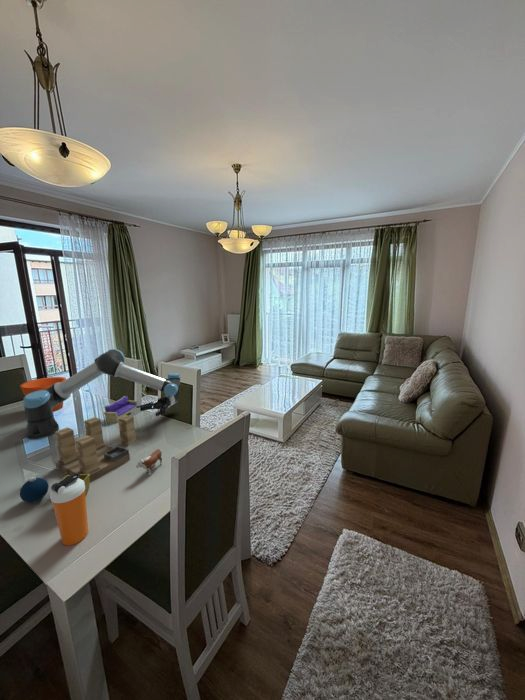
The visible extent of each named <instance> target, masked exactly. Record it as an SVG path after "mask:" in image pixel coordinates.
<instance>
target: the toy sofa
mask: <svg viewBox="0 0 525 700" xmlns="http://www.w3.org/2000/svg"><path fill="white" fill-rule="evenodd" d="M128 397H129V396H127V395H123V396H122V397H121V398H120V399H118V400H116V401H114V402H112V403H110V404H109V405H108V404H107V405H104V412H103V415H104V419H105V422H106V423H114V424H115V423H116V424H117V423H118V424H119V422H118V419H119V418H121V417H123V416H125V415H129V414H131V411H133V410H135V409H137V406H138V400H130V399H129V398H128Z"/></svg>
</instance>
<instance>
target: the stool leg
mask: <svg viewBox="0 0 525 700" xmlns="http://www.w3.org/2000/svg"><path fill="white" fill-rule="evenodd" d="M134 419H135V418H134V416H131V415H129V414H127V415H125V416H123V417H121V418H119V419H118V429H119V436H120V445H123V446H128V447H129V446H131V445H132V444H133V443H135V442H137V437H136V427H135V422H134Z"/></svg>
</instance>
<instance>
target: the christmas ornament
mask: <svg viewBox="0 0 525 700" xmlns="http://www.w3.org/2000/svg"><path fill="white" fill-rule="evenodd" d="M48 491H49V482H48V480H46V479H45V478H42V477H36V475H32V476H30V477H29V478H28V480H27V481H26V482H24V484H23V485H22V486H21V488H20V491H19V497H20V499H21V500H22V501H23V502H25V503H35V502H38V501H40V500H41V499H43V498H44V497H45V496H46V495H47V493H48Z"/></svg>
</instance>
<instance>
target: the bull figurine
mask: <svg viewBox="0 0 525 700" xmlns="http://www.w3.org/2000/svg"><path fill="white" fill-rule="evenodd" d="M158 461H159V466H162V465H163V457H162V451H161V450H160V449H156V450H155V451H153V452H152V453H151V454H149V455H148V456H146V457H144V458H143V459H141V458H140V459H139V460H138V461H137V464H136V465H135V468H137V469H138V468H142V469H144V470H146V471H145V473H146V474H148V476H149V477H150V476H151V475H152V472H151V471H152V468H155V466H156V463H157V462H158Z"/></svg>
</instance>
